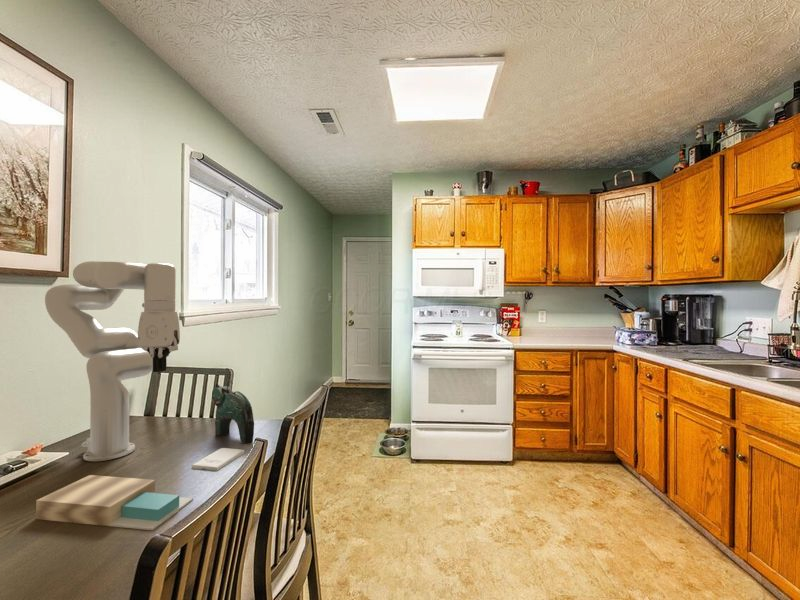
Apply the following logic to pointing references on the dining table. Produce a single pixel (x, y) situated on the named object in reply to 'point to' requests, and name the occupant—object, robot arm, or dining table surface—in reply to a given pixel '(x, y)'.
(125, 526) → the mat
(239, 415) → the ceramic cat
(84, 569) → the dining table surface
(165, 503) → the teal rectangular slab
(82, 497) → the tan wooden flat block
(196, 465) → the external hard drive
